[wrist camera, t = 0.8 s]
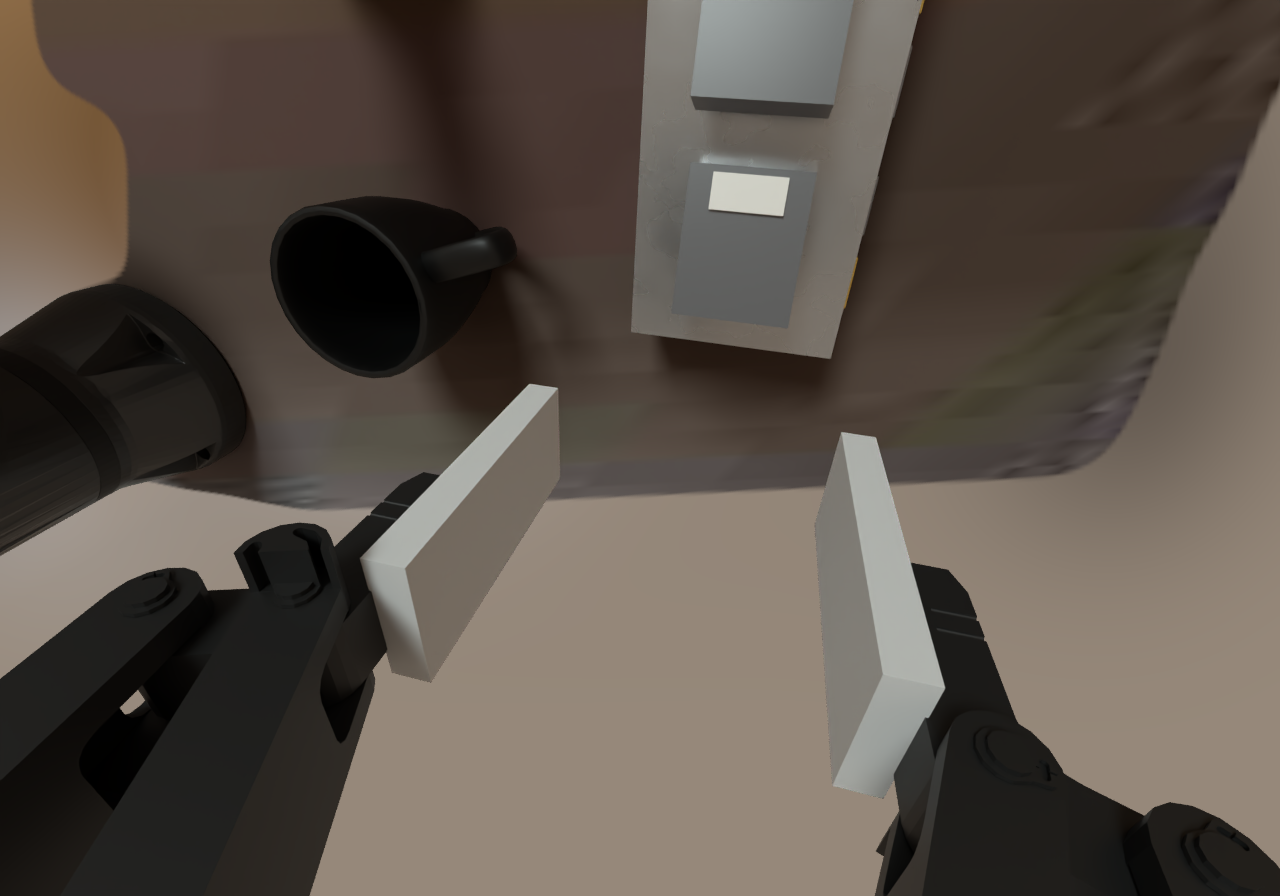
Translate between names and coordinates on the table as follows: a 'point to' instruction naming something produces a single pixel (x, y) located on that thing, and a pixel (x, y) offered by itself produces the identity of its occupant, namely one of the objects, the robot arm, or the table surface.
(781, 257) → the switch
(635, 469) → the table surface
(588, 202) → the table surface
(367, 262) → the mug
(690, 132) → the console
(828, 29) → the switch
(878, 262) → the table surface
